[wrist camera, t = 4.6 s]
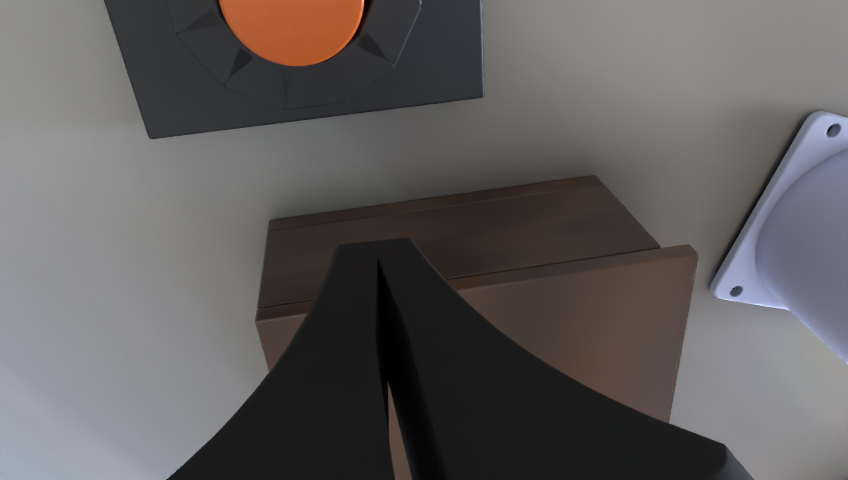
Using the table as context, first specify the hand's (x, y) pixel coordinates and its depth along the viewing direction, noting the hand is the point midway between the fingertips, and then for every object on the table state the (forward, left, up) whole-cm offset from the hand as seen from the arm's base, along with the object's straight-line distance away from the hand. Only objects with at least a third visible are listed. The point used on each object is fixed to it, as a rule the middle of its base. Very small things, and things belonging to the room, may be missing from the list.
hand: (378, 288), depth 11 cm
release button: (+2, -4, -7) cm, 9 cm away
